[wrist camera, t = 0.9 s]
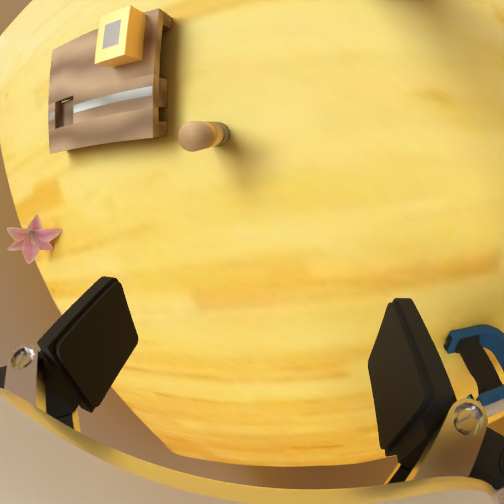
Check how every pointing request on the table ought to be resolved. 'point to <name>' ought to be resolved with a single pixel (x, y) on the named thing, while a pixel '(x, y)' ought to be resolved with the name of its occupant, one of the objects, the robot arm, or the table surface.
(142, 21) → the block
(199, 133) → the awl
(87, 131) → the board
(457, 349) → the handheld scanner
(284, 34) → the table surface
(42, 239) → the lily
